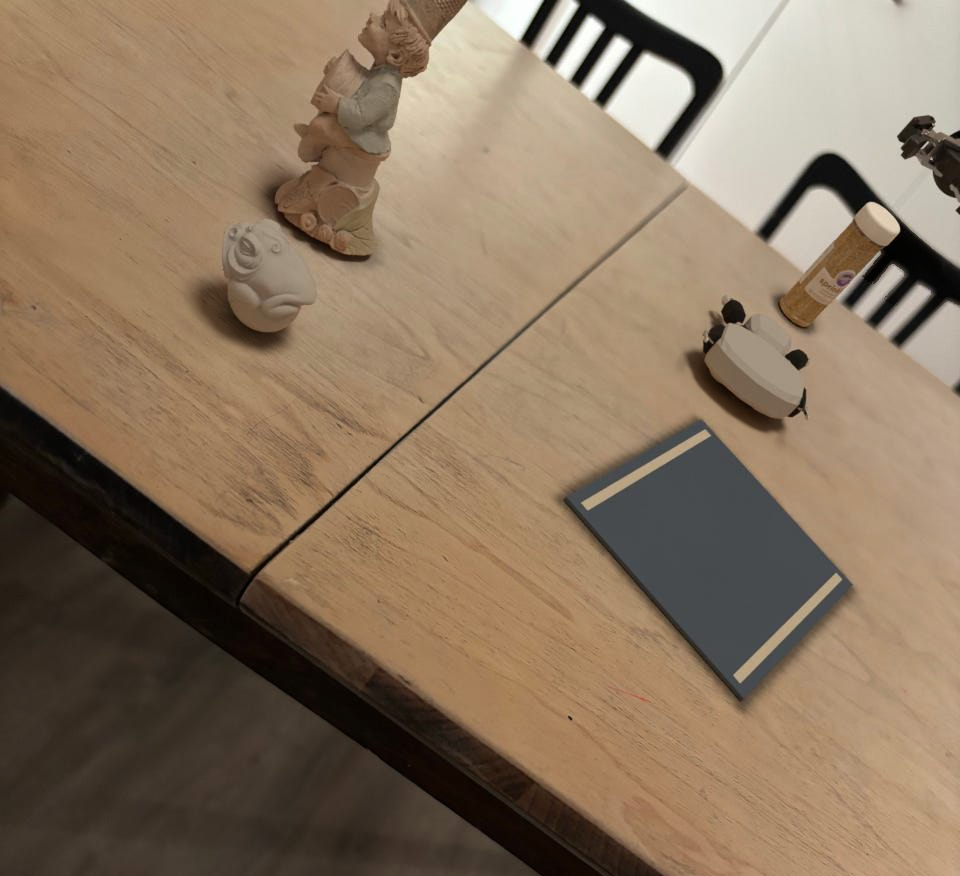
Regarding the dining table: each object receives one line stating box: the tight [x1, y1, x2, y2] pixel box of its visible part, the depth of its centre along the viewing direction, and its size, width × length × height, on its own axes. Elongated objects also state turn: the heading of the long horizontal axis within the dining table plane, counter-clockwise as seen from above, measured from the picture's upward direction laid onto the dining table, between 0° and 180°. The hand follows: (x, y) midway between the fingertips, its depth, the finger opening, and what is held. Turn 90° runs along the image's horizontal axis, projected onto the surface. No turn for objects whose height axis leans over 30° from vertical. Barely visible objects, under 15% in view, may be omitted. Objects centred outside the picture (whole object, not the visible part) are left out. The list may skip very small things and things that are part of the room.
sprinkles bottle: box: [779, 201, 901, 328], centre depth 105 cm, size 5×5×14 cm
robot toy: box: [701, 294, 811, 421], centre depth 96 cm, size 12×4×15 cm
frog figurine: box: [221, 218, 318, 333], centre depth 66 cm, size 6×7×7 cm
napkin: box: [563, 418, 853, 702], centre depth 80 cm, size 22×20×1 cm
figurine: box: [274, 0, 469, 256], centre depth 71 cm, size 9×8×20 cm
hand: (937, 177), depth 106 cm, fingers open, 8 cm apart
